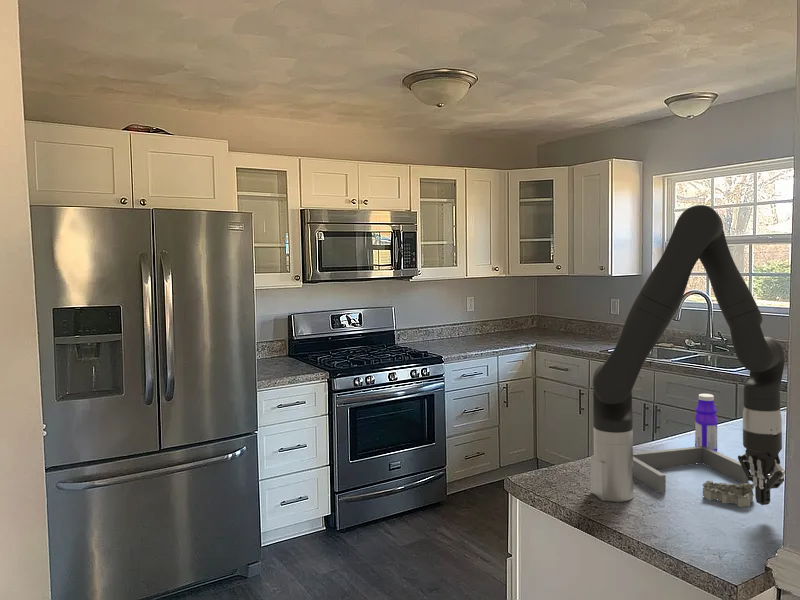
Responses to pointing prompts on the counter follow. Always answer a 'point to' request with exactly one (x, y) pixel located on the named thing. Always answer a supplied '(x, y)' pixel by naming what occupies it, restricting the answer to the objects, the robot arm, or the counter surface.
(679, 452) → the box
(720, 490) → the egg carton
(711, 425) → the bottle
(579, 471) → the counter surface
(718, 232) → the robot arm
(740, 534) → the counter surface
